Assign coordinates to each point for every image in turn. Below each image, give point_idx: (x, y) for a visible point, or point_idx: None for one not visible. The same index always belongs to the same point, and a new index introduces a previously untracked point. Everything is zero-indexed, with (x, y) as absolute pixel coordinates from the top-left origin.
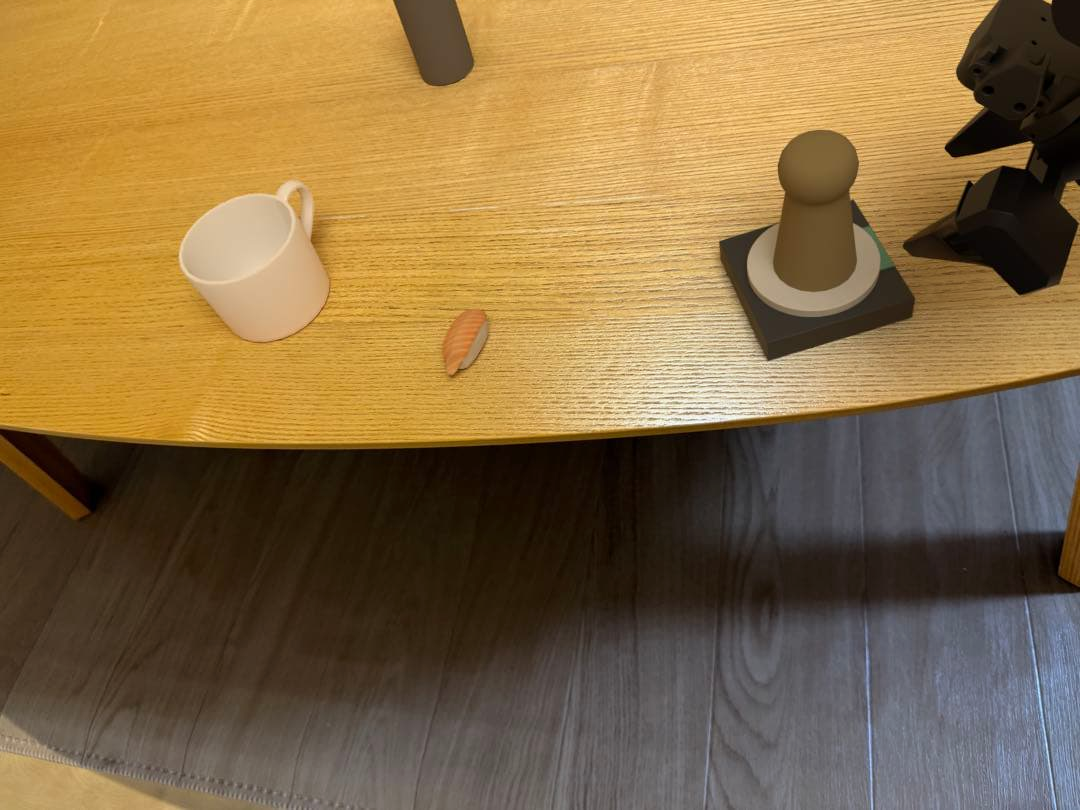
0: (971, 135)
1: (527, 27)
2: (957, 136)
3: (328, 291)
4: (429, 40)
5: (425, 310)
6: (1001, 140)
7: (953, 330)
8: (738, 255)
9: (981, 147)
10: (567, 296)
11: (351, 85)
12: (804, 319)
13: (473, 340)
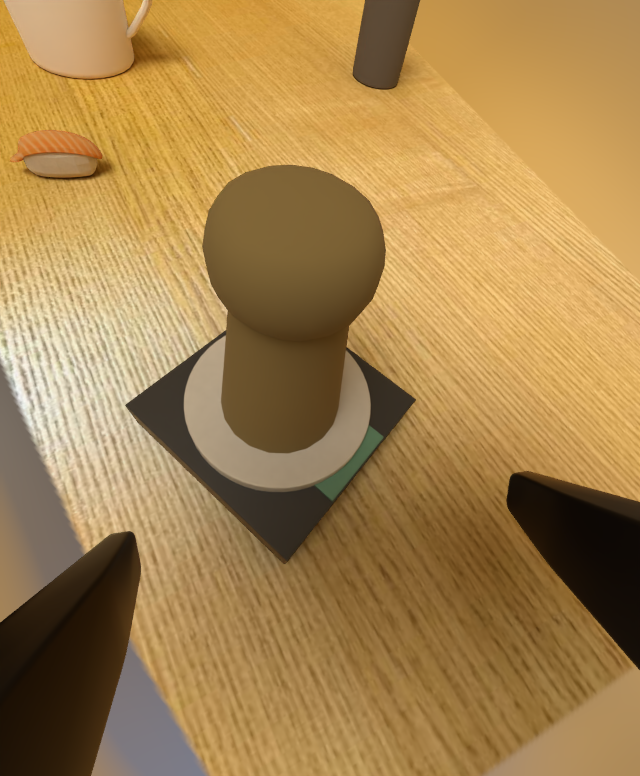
0: (585, 528)
1: (447, 105)
2: (556, 490)
3: (101, 74)
4: (368, 20)
5: (106, 133)
6: (635, 632)
7: (287, 637)
8: None
9: (571, 571)
10: (165, 215)
11: (323, 40)
12: (185, 430)
13: (42, 151)
